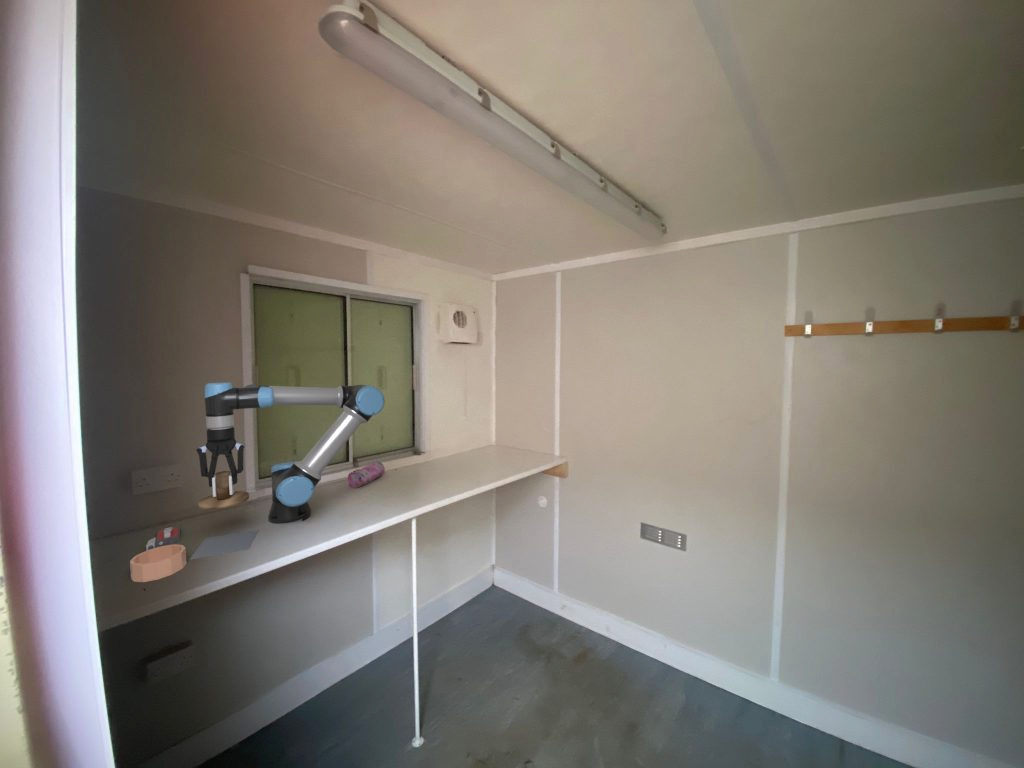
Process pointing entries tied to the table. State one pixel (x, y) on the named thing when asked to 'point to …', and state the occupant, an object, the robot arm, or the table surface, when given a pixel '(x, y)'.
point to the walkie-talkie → (164, 537)
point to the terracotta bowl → (157, 563)
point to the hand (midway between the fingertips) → (223, 494)
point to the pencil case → (365, 474)
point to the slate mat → (225, 544)
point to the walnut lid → (223, 494)
